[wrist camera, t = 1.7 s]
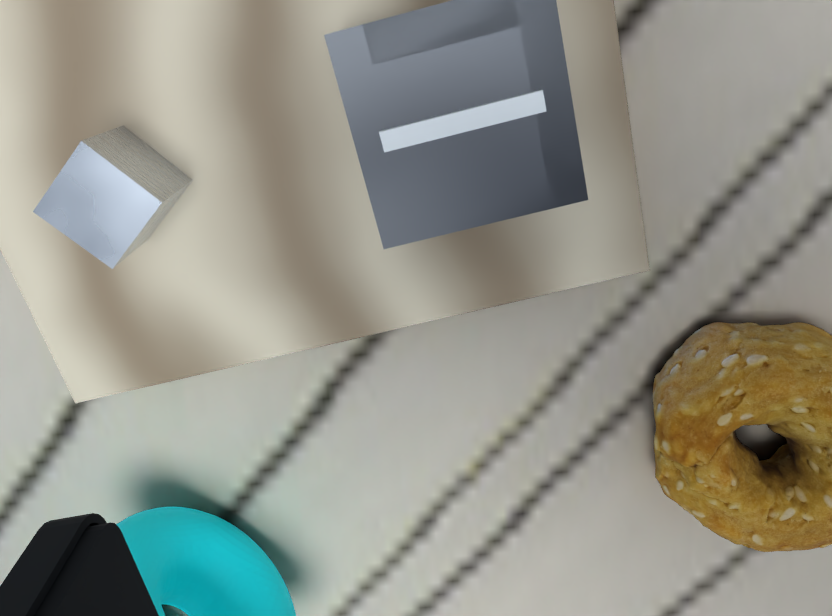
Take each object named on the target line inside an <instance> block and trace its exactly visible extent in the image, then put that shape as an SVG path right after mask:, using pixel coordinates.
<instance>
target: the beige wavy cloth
mask: <svg viewBox="0 0 832 616" xmlns="http://www.w3.org/2000/svg"><path fill="white" fill-rule="evenodd" d="M447 1H451V0H0V250H1V252H2V254H3V256H4V258H5V260H6V262H7V264H8V266H9V269H10V271H11V273H12V275H13V277H14V279H15V281H16V283H17V285H18V287H19V289H20V291H21V293H22V295H23V297H24V299H25V301H26V303H27V305H28V307H29V309H30V311H31V314H32V316H33V318H34V320H35V322H36V324H37V326H38V328H39V330H40V332H41V334H42V336H43V338H44V340H45V342H46V344H47V346H48V348H49V350H50V352H51V354H52V356H53V359H54V361H55V363H56V365H57V367H58V369H59V371H60V373H61V375H62V377H63V379H64V381H65V383H66V385H67V387H68V389H69V391H70V393H71V395H72V397H73V399H74V401H75V403H79V402H83V401H87V400H92V399H96V398H100V397H105V396H109V395H113V394H118V393H122V392H126V391H131V390H135V389H139V388H144V387H148V386H152V385H157V384H161V383H165V382H170V381H174V380H178V379H183V378H187V377H191V376H196V375H200V374H204V373H209V372H213V371H217V370H222V369H226V368H230V367H234V366H239V365H243V364H247V363H252V362H256V361H260V360H265V359H269V358H273V357H278V356H282V355H286V354H291V353H295V352H299V351H304V350H308V349H312V348H317V347H321V346H325V345H330V344H334V343H338V342H343V341H347V340H351V339H356V338H360V337H364V336H369V335H373V334H377V333H382V332H386V331H390V330H395V329H399V328H403V327H408V326H412V325H416V324H421V323H425V322H429V321H434V320H438V319H442V318H447V317H451V316H455V315H460V314H464V313H468V312H473V311H477V310H481V309H486V308H490V307H494V306H499V305H503V304H507V303H512V302H516V301H520V300H525V299H529V298H533V297H538V296H542V295H546V294H551V293H555V292H559V291H563V290H568V289H572V288H576V287H581V286H585V285H589V284H594V283H598V282H602V281H607V280H611V279H615V278H620V277H624V276H628V275H633V274H637V273H641V272H646V271H650V269H649V261H648V254H647V246H646V239H645V231H644V224H643V216H642V209H641V202H640V194H639V187H638V179H637V172H636V164H635V157H634V149H633V142H632V134H631V127H630V120H629V112H628V105H627V97H626V90H625V82H624V75H623V67H622V60H621V52H620V45H619V38H618V30H617V23H616V15H615V8H614V0H556V2H557V8H558V15H559V21H560V27H561V33H562V39H563V46H564V52H565V58H566V64H567V70H568V76H569V83H570V89H571V95H572V101H573V107H574V114H575V120H576V126H577V132H578V138H579V144H580V151H581V157H582V163H583V169H584V175H585V182H586V188H587V194H588V200H586V201H582V202H578V203H574V204H570V205H565V206H561V207H557V208H553V209H549V210H545V211H541V212H536V213H532V214H528V215H524V216H520V217H516V218H512V219H507V220H503V221H499V222H495V223H491V224H487V225H483V226H479V227H474V228H470V229H466V230H462V231H458V232H454V233H450V234H445V235H441V236H437V237H433V238H429V239H425V240H421V241H416V242H412V243H408V244H404V245H400V246H396V247H392V248H387V249H383V245H382V241H381V238H380V234H379V231H378V227H377V223H376V220H375V216H374V213H373V209H372V205H371V202H370V198H369V195H368V191H367V187H366V184H365V180H364V177H363V173H362V170H361V166H360V162H359V159H358V155H357V152H356V148H355V144H354V141H353V137H352V134H351V130H350V126H349V123H348V119H347V116H346V112H345V109H344V105H343V101H342V98H341V94H340V91H339V87H338V83H337V80H336V76H335V73H334V69H333V65H332V62H331V58H330V55H329V51H328V47H327V44H326V40H325V37H324V35H325V34H329V33H333V32H336V31H340V30H344V29H348V28H351V27H355V26H359V25H362V24H366V23H370V22H373V21H377V20H381V19H384V18H388V17H392V16H396V15H399V14H403V13H407V12H410V11H414V10H418V9H421V8H425V7H429V6H433V5H436V4H440V3H444V2H447ZM120 126H125V127H126V128H127V129H129V130H130V131H131V132H132V133H134V134H135V135H136V136H137V137H139V138H140V139H141V140H143V141H144V142H145V143H146V144H148V145H149V146H150V147H152V148H153V149H154V150H155V151H157V152H158V153H159V154H160V155H162V156H163V157H164V158H166V159H167V160H168V161H169V162H171V163H172V164H173V165H175V166H176V167H177V168H178V169H180V170H181V171H182V172H183V173H185V174H186V175H187V176H189V177H190V178H191V179H192V180H193V181H192V182H191V183H190V185H189V186H188V187H187V189H186V190H185V191H184V193H183V194H182V195H181V197H180V198H179V199H178V201H177V202H176V203H175V205H174V206H173V207H172V208H171V210H170V211H169V212H168V214H167V215H166V216H165V218H164V219H163V220H162V222H161V223H160V224H159V226H158V227H157V228H156V230H155V231H154V232H153V234H152V235H151V236H150V238H149V239H148V240H147V241H146V242H144V243H143V244H142V245H141V246H140V247H138V248H137V249H136V250H135V251H133V252H132V253H131V254H130V255H129V256H127V257H126V258H125V259H124V260H123V261H121V262H120V263H119V264H118V265H117V266H115V267H114V268H113V269H112V268H110V267H109V266H107V265H106V264H105V263H103V262H102V261H100V260H99V259H98V258H96V257H95V256H93V255H92V254H91V253H89V252H88V251H87V250H85V249H84V248H82V247H81V246H80V245H78V244H77V243H75V242H74V241H73V240H71V239H70V238H69V237H67V236H66V235H64V234H63V233H62V232H60V231H59V230H57V229H56V228H55V227H53V226H52V225H50V224H49V223H48V222H46V221H45V220H44V219H42V218H41V217H39V216H38V215H37V214H35V213H34V212H33V211H34V209H35V208H36V206H37V205H38V203H39V202H40V200H41V199H42V197H43V196H44V194H45V193H46V192H47V190H48V189H49V187H50V186H51V184H52V183H53V181H54V180H55V178H56V177H57V175H58V174H59V173H60V171H61V170H62V168H63V167H64V165H65V164H66V162H67V161H68V159H69V158H70V156H71V155H72V154H73V152H74V151H75V149H76V148H77V146H78V145H79V143H80V142H81V141H82V140H85V139H88V138H90V137H93V136H96V135H98V134H101V133H104V132H107V131H109V130H112V129H115V128H118V127H120Z"/></svg>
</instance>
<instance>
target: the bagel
mask: <svg viewBox="0 0 832 616" xmlns="http://www.w3.org/2000/svg"><path fill="white" fill-rule="evenodd" d="M653 405H654V417H655V423H656V432H655V436H654V452H655V463H656V469H655V477H656V478H657V480H658V481H659V483H660V485H661V488H662V490H663V492H664V494H665V495H666V496H667V497H669V498H670V499H672V500H674V501H675V502H677V503H678V504H679V505H680V506H681V507H683V509H684V510H686V511H688V512H689V513H690V514H692V515H694V517H695V518H696V519H697V520H699V521H700V522H701V523H702V525H703V526H705V527H707V528H709V529H710V530H711V531H713V532H714V533H716V534H717V535H719V536H721V537H723V538H725V539H728V540H730V541H731V542H733V543H734V544H742V545H743V546H746V547H748V548H753V549H755V550H758V551H763V552H772V551H792V550H809V549H813V548H818V547H820V548H824V547H827V546H829V545H831V544H832V335H830V334H829V333H827V332H825V331H824V330H822V329H820V328H818V327H815V326H813V325H810V324H806V323H800V322H796V323H790V324H785V325H766V326H759V325H758V324H755V323H752V322H748V323H741V324H738V323H723V322H715V323H711V324H708V325H705V326H703V327H702V328H700V329H699V330H697V331H695V332H694V334H692V335H691V336H690V337H689V338H688V339H687V340H686V341H685V342H684V343H683V345H682V346H681V347H680V348H678V349H677V350H676V351H675V352H674V354H673V356H672V357H671V358H670V359H669V360H668V361H667V362H666V364H665V365H664V367H663V368H662V370H661V371H660V372H659V373H658V374H657V375H656V376H655V379H654V387H653ZM761 424H767V425H768V427H769V429H770V430H772V431H773V432H775V433H778V434H780V435H782V436H783V437H785V438H786V441H787V444H785V445H782V446H781V447H780V448H778V450H777V451H776V453H775V454H774V455H773V456H772V457H771V458H769V459H766V460H762V461H759V459H758V457H757V455H756V454H755V453H754V452H753V451H752V450H751V449H749V448H748V447H746V446H744V445H743V444H742V443H740V442H739V440H738V438H737V436H736V434H735V432H734V430H736V429H738V428H740V427H741V426H743V425H761Z"/></svg>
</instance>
